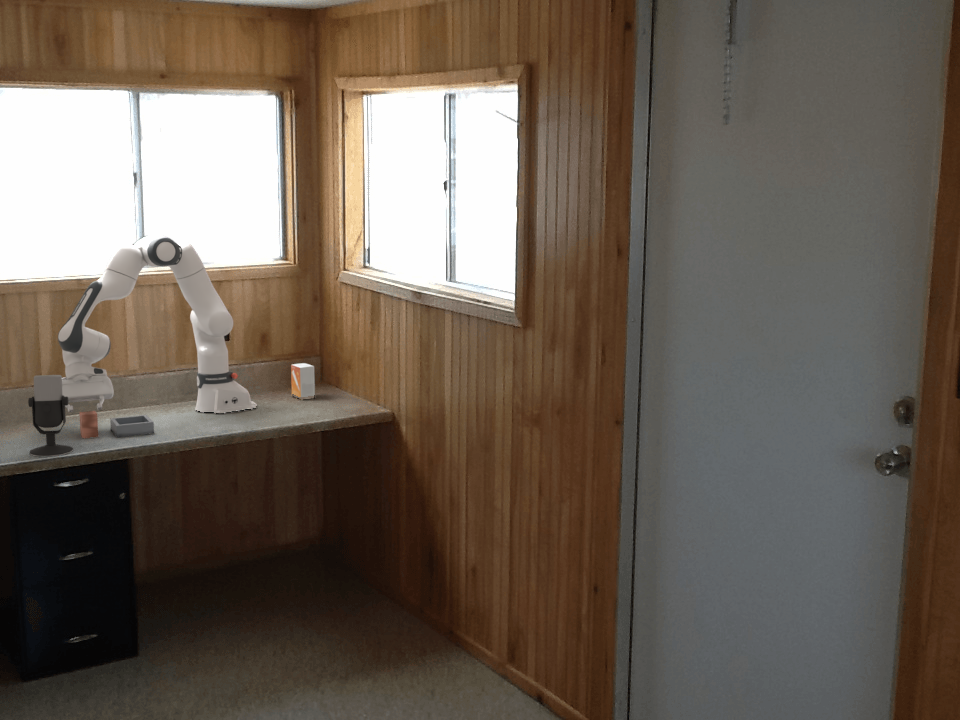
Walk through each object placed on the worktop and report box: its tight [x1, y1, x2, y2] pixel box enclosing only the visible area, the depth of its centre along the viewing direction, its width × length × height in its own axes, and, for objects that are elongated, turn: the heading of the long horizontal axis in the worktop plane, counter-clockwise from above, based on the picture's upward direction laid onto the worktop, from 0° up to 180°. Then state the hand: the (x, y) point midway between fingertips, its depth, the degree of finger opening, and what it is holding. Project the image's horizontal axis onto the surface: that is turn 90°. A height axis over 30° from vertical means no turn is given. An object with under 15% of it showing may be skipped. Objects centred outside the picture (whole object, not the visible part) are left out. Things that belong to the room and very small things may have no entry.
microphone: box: [27, 374, 74, 457], centre depth 361 cm, size 13×13×25 cm
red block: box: [79, 410, 99, 439], centre depth 382 cm, size 5×5×8 cm
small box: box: [290, 362, 316, 397], centre depth 443 cm, size 8×6×13 cm
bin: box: [109, 414, 155, 438], centre depth 389 cm, size 12×12×4 cm
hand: (85, 410), depth 385 cm, fingers open, 8 cm apart
